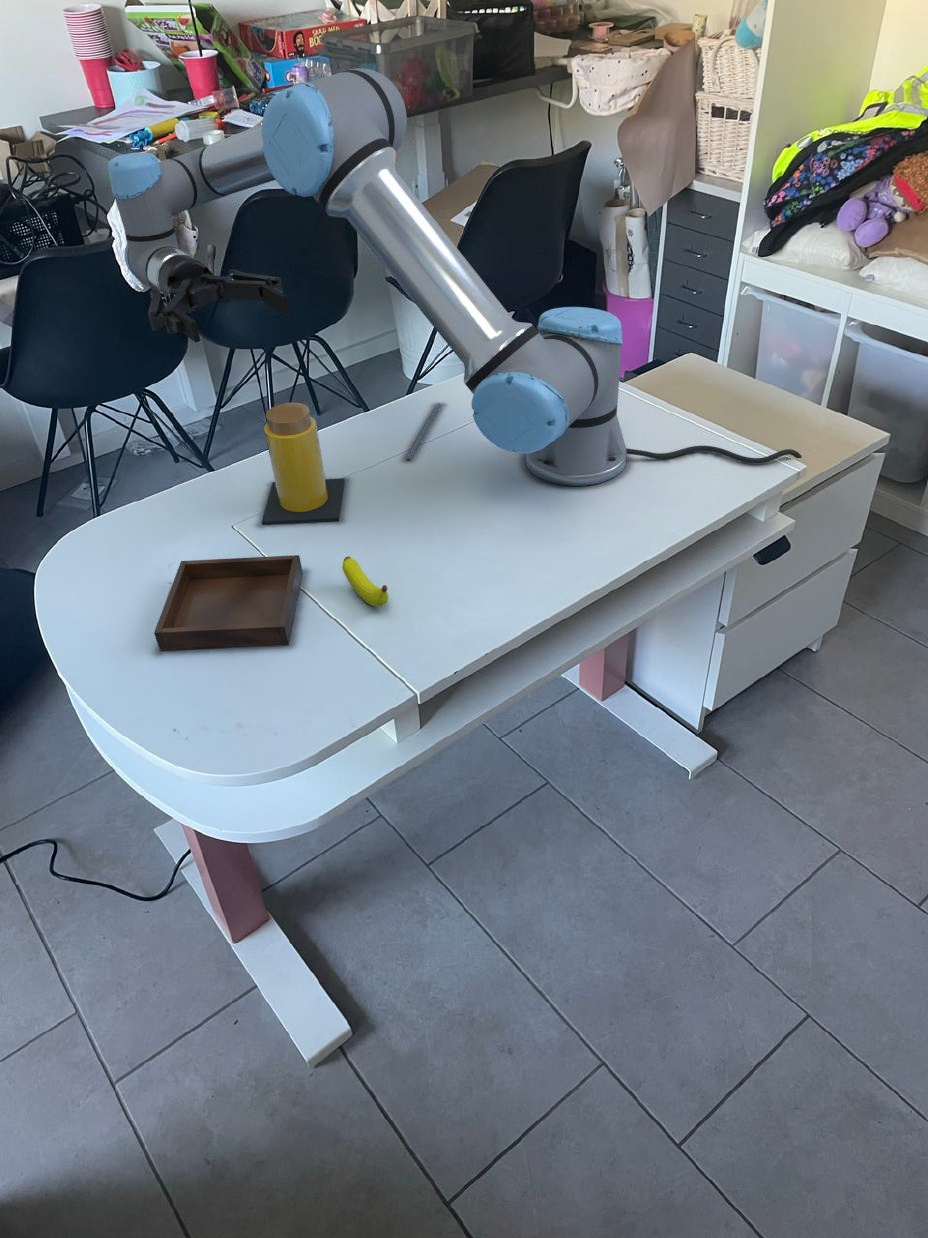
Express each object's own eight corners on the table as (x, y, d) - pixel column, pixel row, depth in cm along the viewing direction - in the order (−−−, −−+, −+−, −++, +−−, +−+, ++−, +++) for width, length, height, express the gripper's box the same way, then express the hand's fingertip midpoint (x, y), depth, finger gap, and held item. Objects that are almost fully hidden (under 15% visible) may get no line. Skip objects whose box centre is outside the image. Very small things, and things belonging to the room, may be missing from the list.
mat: (345, 481, 138) (344, 477, 138) (338, 521, 130) (338, 517, 130) (273, 485, 139) (272, 481, 138) (262, 525, 130) (261, 521, 130)
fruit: (397, 615, 113) (393, 583, 110) (382, 622, 112) (378, 590, 109) (356, 577, 119) (351, 546, 116) (342, 583, 118) (336, 552, 115)
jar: (330, 484, 137) (316, 399, 128) (325, 510, 131) (310, 423, 122) (282, 487, 137) (265, 401, 128) (276, 513, 131) (257, 425, 122)
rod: (441, 406, 157) (441, 403, 156) (410, 461, 143) (410, 457, 142) (437, 406, 157) (437, 402, 157) (406, 461, 143) (406, 457, 142)
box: (303, 573, 121) (299, 554, 119) (288, 645, 109) (284, 626, 107) (186, 579, 121) (180, 560, 119) (160, 651, 110) (153, 632, 108)
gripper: (260, 284, 146) (325, 321, 132) (109, 325, 135) (162, 370, 122) (251, 235, 141) (317, 269, 128) (93, 274, 131) (147, 315, 117)
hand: (242, 318), depth 125 cm, fingers open, 13 cm apart
